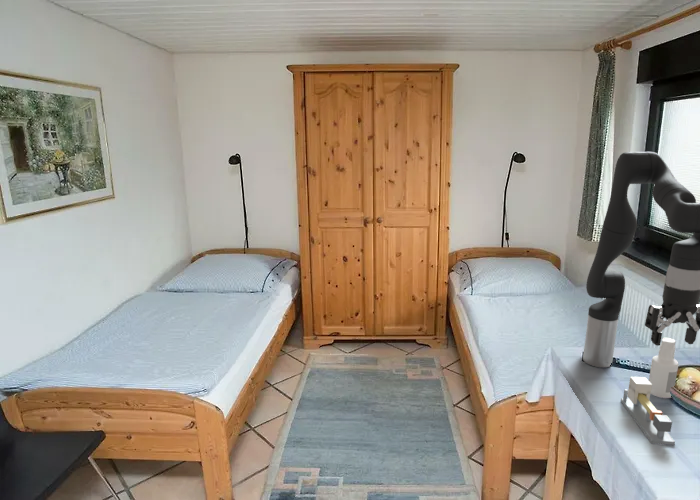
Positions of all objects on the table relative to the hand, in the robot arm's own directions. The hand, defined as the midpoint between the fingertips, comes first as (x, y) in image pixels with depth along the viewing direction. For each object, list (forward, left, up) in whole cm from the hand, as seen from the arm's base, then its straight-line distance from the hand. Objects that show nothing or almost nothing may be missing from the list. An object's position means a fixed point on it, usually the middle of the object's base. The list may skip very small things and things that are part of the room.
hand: (672, 343), depth 124 cm
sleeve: (-13, 0, -25) cm, 28 cm away
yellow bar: (-6, 0, -24) cm, 25 cm away
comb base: (-7, 0, -28) cm, 29 cm away
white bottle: (-23, +11, -28) cm, 38 cm away
